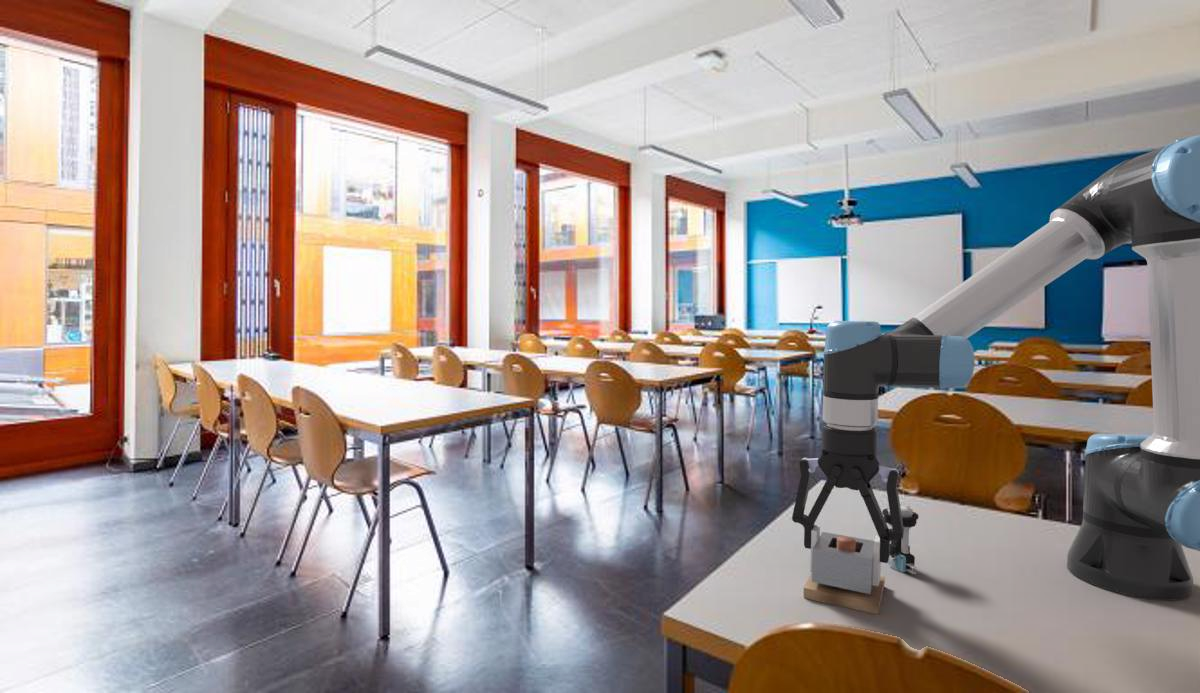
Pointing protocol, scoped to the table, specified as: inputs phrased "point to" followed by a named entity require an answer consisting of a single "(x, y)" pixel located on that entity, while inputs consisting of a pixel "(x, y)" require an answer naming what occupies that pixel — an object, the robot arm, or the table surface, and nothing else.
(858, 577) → the grey slotted box
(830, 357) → the robot arm
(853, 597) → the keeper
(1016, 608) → the table surface
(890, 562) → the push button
